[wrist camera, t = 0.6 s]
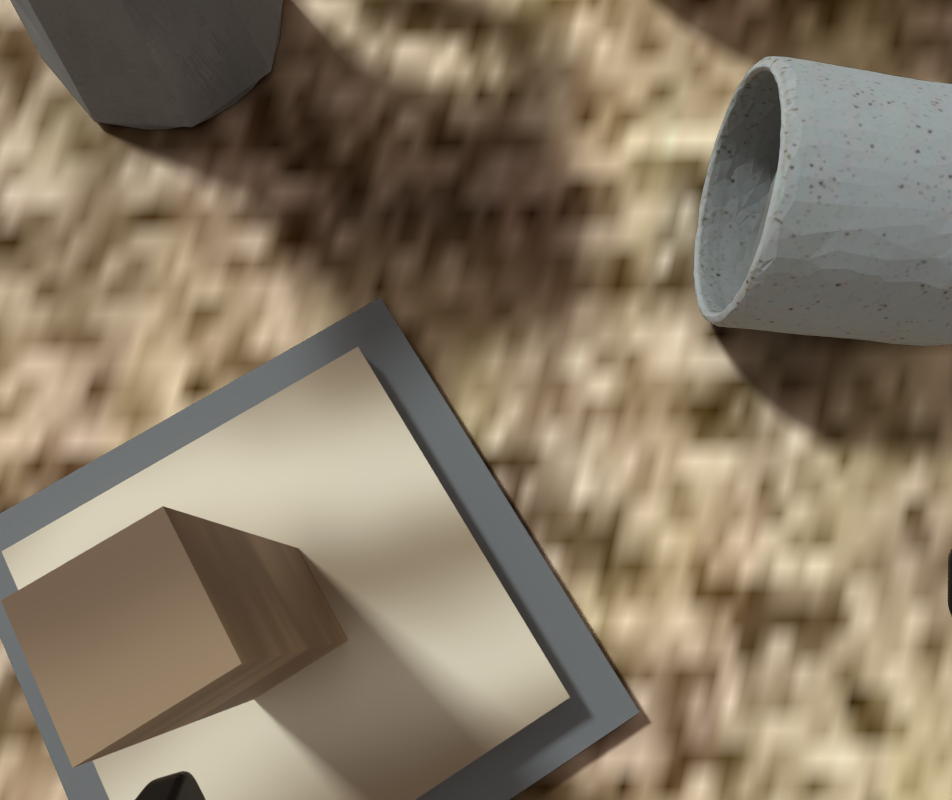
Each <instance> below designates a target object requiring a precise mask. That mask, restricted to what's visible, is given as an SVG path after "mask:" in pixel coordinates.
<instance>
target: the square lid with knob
mask: <svg viewBox="0 0 952 800" xmlns="http://www.w3.org/2000/svg"><path fill="white" fill-rule="evenodd" d="M2 554H3V556H4V558H5V561H6V563H7V565H8V568H9V570H10V572H11V574H12V577H13V579H14V581H15V584H16V586H17V588H18V591H16V592H15V593H13V594H11V595H10V596H8V597H6V598H4V599H3V600H1V602H2V604H3V606H4V609H5V611H6V613H7V616H8V618H9V620H10V623H11V625H12V627H13V630H14V632H15V634H16V637H17V639H18V641H19V644H20V646H21V648H22V651H23V653H24V655H25V658H26V660H27V663H28V665H29V667H30V670H31V672H32V674H33V677H34V679H35V681H36V684H37V686H38V688H39V691H40V693H41V695H42V698H43V700H44V702H45V705H46V707H47V709H48V712H49V714H50V716H51V719H52V721H53V723H54V726H55V728H56V730H57V733H58V735H59V737H60V740H61V742H62V744H63V747H64V749H65V751H66V754H67V756H68V758H69V761H70V763H71V765H72V768H74V767H77V766H79V765H82V764H85V763H87V762H90V761H93V763H94V765H95V768H96V770H97V772H98V775H99V777H100V779H101V781H102V784H103V786H104V788H105V791H106V793H107V795H108V798H109V800H135V799H136V797H137V796H138V795H139V794H140V792H141V791H142V790H143V789H144V788H145V786H146V785H147V784H148V783H149V782H151V781H152V780H155V779H157V778H160V777H164V776H167V775H170V774H174V773H177V772H181V771H187V772H189V773H191V774H192V775H193V777H194V778H195V779H196V781H197V783H198V785H199V787H200V789H201V791H202V793H203V795H204V797H205V799H206V800H416V799H417V798H419V797H420V796H422V795H423V794H425V793H426V792H428V791H429V790H431V789H432V788H434V787H435V786H437V785H438V784H440V783H441V782H443V781H444V780H446V779H447V778H449V777H450V776H452V775H453V774H455V773H456V772H458V771H459V770H461V769H462V768H464V767H465V766H467V765H469V764H470V763H472V762H473V761H475V760H476V759H478V758H479V757H481V756H482V755H484V754H485V753H487V752H488V751H490V750H491V749H493V748H494V747H496V746H497V745H499V744H500V743H502V742H503V741H505V740H506V739H508V738H509V737H511V736H512V735H514V734H515V733H517V732H518V731H520V730H521V729H523V728H524V727H526V726H527V725H529V724H530V723H532V722H533V721H535V720H536V719H538V718H540V717H541V716H543V715H544V714H546V713H547V712H549V711H550V710H552V709H553V708H555V707H556V706H558V705H559V704H561V703H562V702H564V701H565V700H567V699H568V698H570V696H569V695H568V693H567V691H566V690H565V688H564V686H563V685H562V683H561V681H560V680H559V678H558V677H557V675H556V673H555V672H554V670H553V668H552V667H551V665H550V663H549V662H548V660H547V658H546V657H545V655H544V653H543V652H542V650H541V648H540V647H539V645H538V643H537V642H536V640H535V638H534V637H533V635H532V634H531V632H530V630H529V629H528V627H527V625H526V624H525V622H524V620H523V619H522V617H521V615H520V614H519V612H518V610H517V609H516V607H515V605H514V604H513V602H512V600H511V599H510V597H509V595H508V594H507V592H506V591H505V589H504V587H503V586H502V584H501V582H500V581H499V579H498V577H497V576H496V574H495V572H494V571H493V569H492V567H491V566H490V564H489V562H488V561H487V559H486V557H485V556H484V554H483V552H482V551H481V549H480V547H479V546H478V544H477V543H476V541H475V539H474V538H473V536H472V534H471V533H470V531H469V529H468V528H467V526H466V524H465V523H464V521H463V519H462V518H461V516H460V514H459V513H458V511H457V509H456V508H455V506H454V504H453V503H452V501H451V500H450V498H449V496H448V495H447V493H446V491H445V490H444V488H443V486H442V485H441V483H440V481H439V480H438V478H437V476H436V475H435V473H434V471H433V470H432V468H431V466H430V465H429V463H428V461H427V460H426V458H425V457H424V455H423V453H422V452H421V450H420V448H419V447H418V445H417V443H416V442H415V440H414V438H413V437H412V435H411V433H410V432H409V430H408V428H407V427H406V425H405V423H404V422H403V420H402V418H401V417H400V415H399V414H398V412H397V410H396V409H395V407H394V405H393V404H392V402H391V400H390V399H389V397H388V395H387V394H386V392H385V390H384V389H383V387H382V385H381V384H380V382H379V380H378V379H377V377H376V375H375V374H374V372H373V371H372V369H371V367H370V366H369V364H368V362H367V361H366V359H365V357H364V356H363V354H362V352H361V351H360V349H359V347H356V348H355V349H353V350H351V351H350V352H348V353H346V354H344V355H343V356H341V357H339V358H337V359H336V360H334V361H332V362H330V363H329V364H327V365H325V366H323V367H322V368H320V369H318V370H316V371H315V372H313V373H311V374H310V375H308V376H306V377H304V378H303V379H301V380H299V381H297V382H296V383H294V384H292V385H290V386H289V387H287V388H285V389H283V390H282V391H280V392H278V393H276V394H275V395H273V396H271V397H269V398H268V399H266V400H264V401H263V402H261V403H259V404H257V405H256V406H254V407H252V408H250V409H249V410H247V411H245V412H243V413H242V414H240V415H238V416H236V417H235V418H233V419H231V420H229V421H228V422H226V423H224V424H222V425H221V426H219V427H217V428H216V429H214V430H212V431H210V432H209V433H207V434H205V435H203V436H202V437H200V438H198V439H196V440H195V441H193V442H191V443H189V444H188V445H186V446H184V447H182V448H181V449H179V450H177V451H175V452H174V453H172V454H170V455H169V456H167V457H165V458H163V459H162V460H160V461H158V462H156V463H155V464H153V465H151V466H149V467H148V468H146V469H144V470H142V471H141V472H139V473H137V474H135V475H134V476H132V477H130V478H128V479H127V480H125V481H123V482H122V483H120V484H118V485H116V486H115V487H113V488H111V489H109V490H108V491H106V492H104V493H102V494H101V495H99V496H97V497H95V498H94V499H92V500H90V501H88V502H87V503H85V504H83V505H82V506H80V507H78V508H76V509H75V510H73V511H71V512H69V513H68V514H66V515H64V516H62V517H61V518H59V519H57V520H55V521H54V522H52V523H50V524H48V525H47V526H45V527H43V528H41V529H40V530H38V531H36V532H35V533H33V534H31V535H29V536H28V537H26V538H24V539H22V540H21V541H19V542H17V543H15V544H14V545H12V546H10V547H8V548H7V549H5V550H3V551H2Z"/></svg>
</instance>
